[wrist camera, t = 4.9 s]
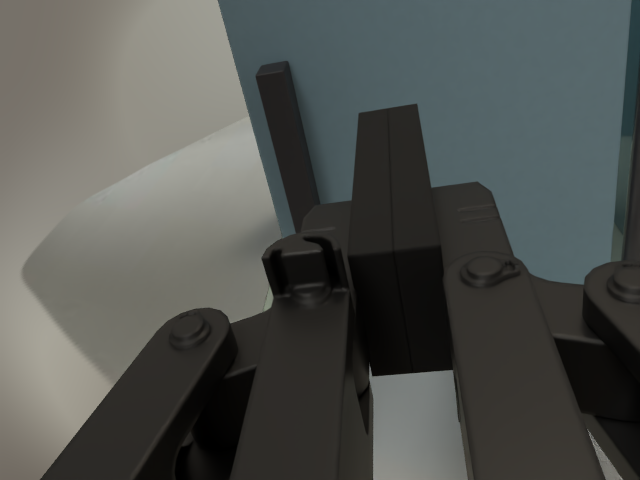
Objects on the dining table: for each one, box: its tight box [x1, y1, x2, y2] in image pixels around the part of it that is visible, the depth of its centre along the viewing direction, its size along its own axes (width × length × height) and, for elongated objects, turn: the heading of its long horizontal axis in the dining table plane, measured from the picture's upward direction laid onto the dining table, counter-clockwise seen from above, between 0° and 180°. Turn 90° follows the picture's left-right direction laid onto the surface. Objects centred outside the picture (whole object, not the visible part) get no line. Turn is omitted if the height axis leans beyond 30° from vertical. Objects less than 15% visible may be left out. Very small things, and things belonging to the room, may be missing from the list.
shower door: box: [218, 0, 632, 285], centre depth 21 cm, size 13×2×16 cm, turn 86°
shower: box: [263, 0, 640, 312], centre depth 27 cm, size 18×16×19 cm
